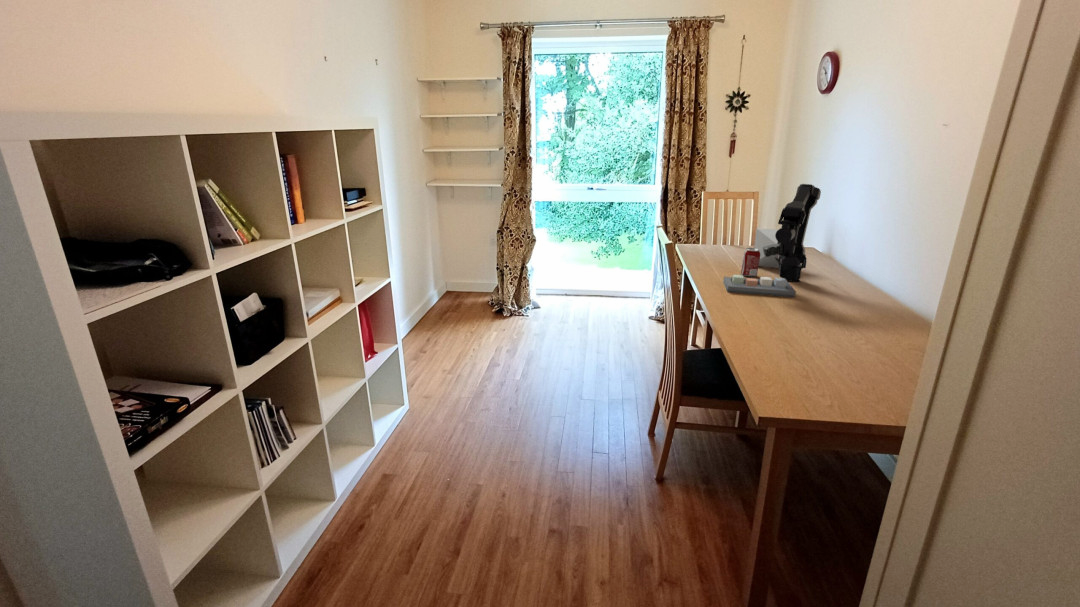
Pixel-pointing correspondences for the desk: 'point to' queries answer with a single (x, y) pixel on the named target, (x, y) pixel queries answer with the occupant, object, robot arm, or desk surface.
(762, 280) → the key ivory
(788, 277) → the robot arm
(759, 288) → the keypad board
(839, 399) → the desk surface
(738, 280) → the key sage
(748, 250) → the soda can
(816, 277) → the desk surface
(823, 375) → the desk surface
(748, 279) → the key terracotta
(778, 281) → the key slate
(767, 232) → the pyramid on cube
